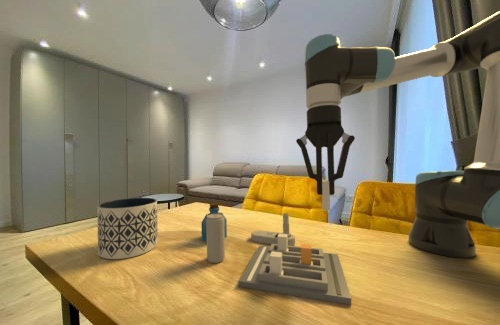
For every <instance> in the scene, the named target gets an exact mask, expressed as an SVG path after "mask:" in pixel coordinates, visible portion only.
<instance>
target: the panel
mask: <svg viewBox="0 0 500 325" xmlns="http://www.w3.org/2000/svg"><path fill="white" fill-rule="evenodd" d="M277 249H278V244H270V246H265V245H264V246H263V245H259V246H258V247H257V249H256V250H255V253H254V254H253V255H252V257H251V259H250V261H249V262H248V264H247V267H246V268H245V270H244V272H243V273H242V275H241V277H240V278H239V280H238V287H239V288H244V289H245V288H246V289H252V290H257V291H258V290H259V291H263V292H270V293H276V294H282V295H287V296H288V295H289V296H293V297H301V298H307V299H313V300H319V301H324V302H325V301H326V302H333V303H338V304H343V305H350V306H351V305H352V296H351V292H350V290H349V289H350V288H349V286H348V283H347V280H346V277H345V274H344V270H343V268H342V263H341V261H340V257H339V254H338V253H331V252H324V249H323V248H316V247H311V261H313V265H308V264H300V260H301V246H298V245H296V246H295V245H293V246H288V249H289V251H281V250H277ZM272 251H274V252H282V270H284V275H279V274H272V273H269V271H270V254H271V252H272Z"/></svg>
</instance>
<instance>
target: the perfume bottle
mask: <svg viewBox="0 0 500 325" xmlns="http://www.w3.org/2000/svg"><path fill="white" fill-rule="evenodd" d="M219 211H220V207H219V203H216V202H215V203H214V202H213V203H209V208H208V212H209V213H207V214H205V216H204V217H203V219H202V221H201V241H202V242H206V243H207V227H206V219H207V216H208V215H210V214H223V215H224V213H223V212H219ZM227 222H228V220H227V218H226V216H225V215H224V234H225V239H226V238H227V236H228V233H227V229H228V228H227V227H228V226H227Z"/></svg>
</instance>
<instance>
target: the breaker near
mask: <svg viewBox="0 0 500 325" xmlns="http://www.w3.org/2000/svg"><path fill="white" fill-rule="evenodd" d="M269 273H272V274H279V275H284V270H282V252H274V251H272V252H271V254H270V271H269Z"/></svg>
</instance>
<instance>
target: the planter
mask: <svg viewBox="0 0 500 325" xmlns="http://www.w3.org/2000/svg"><path fill="white" fill-rule="evenodd" d="M96 211H97V212H96V213H97V254H98V256H99V257H101V258H103V259H106V260H125V259H131V258H134V257H137V256H138V257H139V256H141V255H144V254H146V253H148V252H150V251H152V250H153V249H155V248H156V246H157V245H158V244H159V243H158V240H159V238H158V231H159V230H158V200H157V199H156V198H153V197H152V198H151V197H130V198H119V199H114V200H109V201H104V202H102V203H99V204H97V210H96Z"/></svg>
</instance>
